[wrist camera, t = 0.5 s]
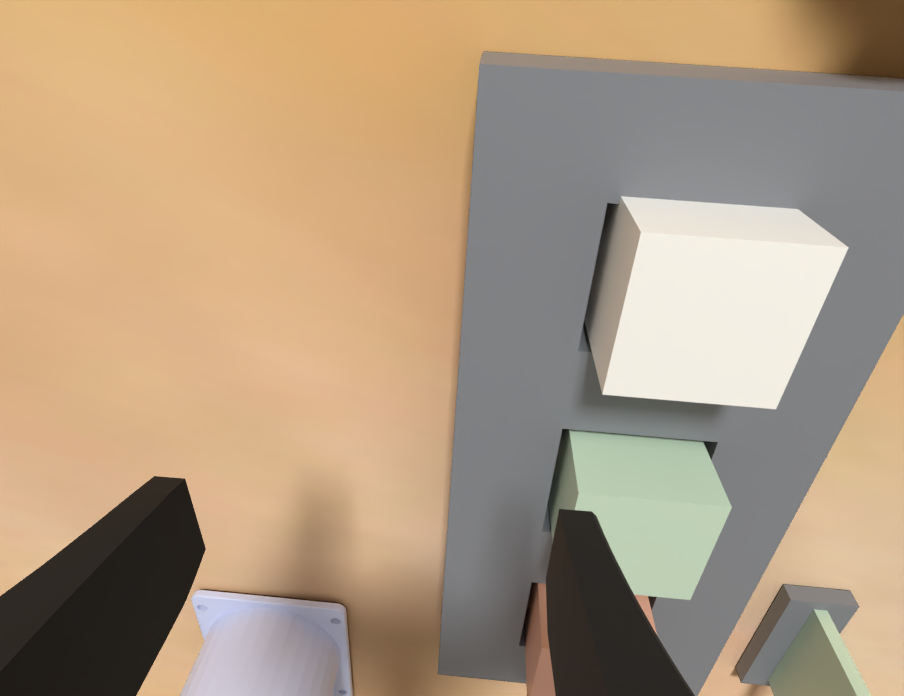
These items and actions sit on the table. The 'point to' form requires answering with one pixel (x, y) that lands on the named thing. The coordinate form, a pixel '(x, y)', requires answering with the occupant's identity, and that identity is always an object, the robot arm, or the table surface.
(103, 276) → the table surface
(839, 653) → the card
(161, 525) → the robot arm
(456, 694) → the table surface
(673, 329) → the cream block
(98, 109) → the table surface
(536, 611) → the terracotta block
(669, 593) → the sage block
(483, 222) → the button board
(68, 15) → the table surface
